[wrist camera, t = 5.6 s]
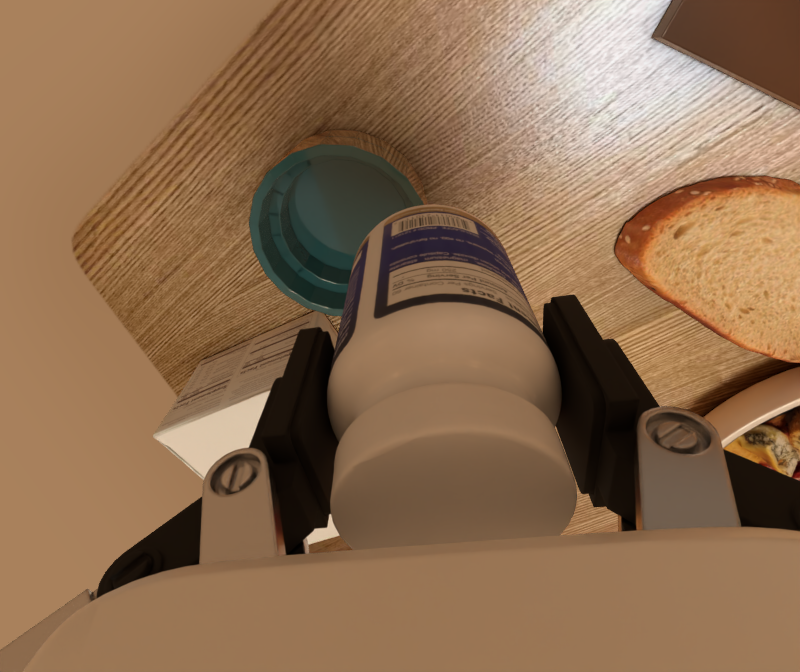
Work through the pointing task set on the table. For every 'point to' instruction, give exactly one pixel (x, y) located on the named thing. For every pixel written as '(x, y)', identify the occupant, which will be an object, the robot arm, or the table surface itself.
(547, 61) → the table surface
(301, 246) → the teal bowl
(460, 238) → the pill bottle
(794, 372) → the bowl
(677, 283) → the bread slice
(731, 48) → the walnut board
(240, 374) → the supplement box
